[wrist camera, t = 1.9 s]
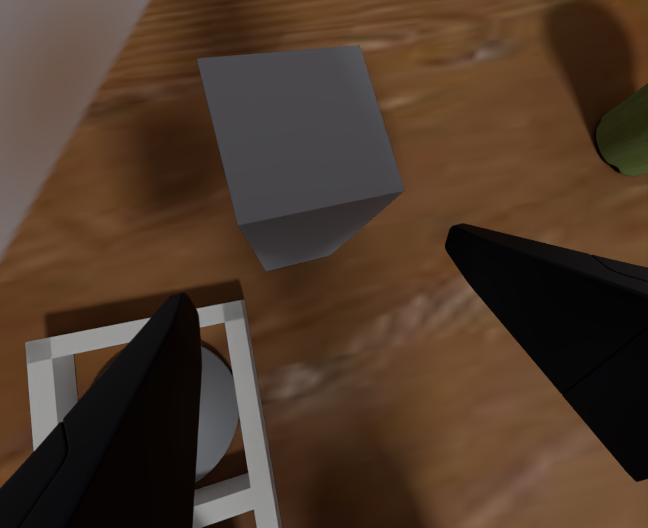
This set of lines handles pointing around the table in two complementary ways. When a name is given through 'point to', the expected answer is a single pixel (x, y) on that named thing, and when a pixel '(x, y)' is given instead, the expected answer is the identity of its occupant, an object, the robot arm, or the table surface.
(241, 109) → the block
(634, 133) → the plant pot
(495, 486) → the table surface
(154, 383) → the robot arm
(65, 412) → the frame
